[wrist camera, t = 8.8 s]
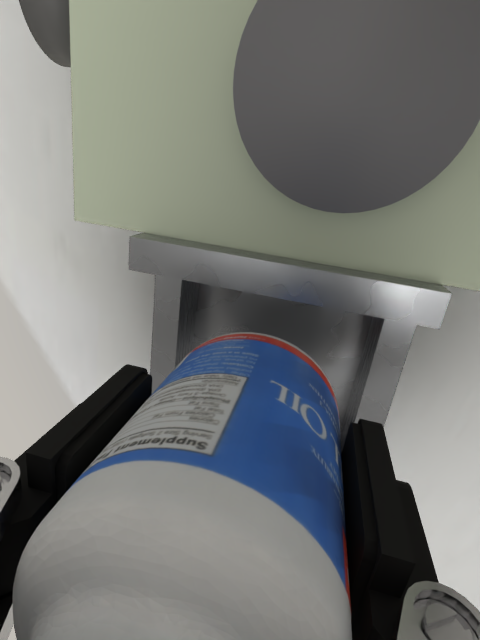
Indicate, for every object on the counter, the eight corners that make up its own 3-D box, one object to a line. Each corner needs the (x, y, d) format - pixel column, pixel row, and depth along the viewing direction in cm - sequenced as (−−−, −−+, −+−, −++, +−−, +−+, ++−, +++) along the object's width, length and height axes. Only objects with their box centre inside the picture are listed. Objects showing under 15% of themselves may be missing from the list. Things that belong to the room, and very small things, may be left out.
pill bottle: (360, 458, 12) (469, 1265, 3) (211, 484, 14) (-10, 1056, 5) (305, 301, 11) (207, 883, 2) (148, 350, 12) (-323, 781, 3)
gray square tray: (415, 261, 14) (451, 293, 10) (355, 456, 17) (364, 543, 13) (183, 222, 15) (129, 236, 11) (169, 409, 18) (123, 474, 14)
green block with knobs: (677, -45, 10) (889, -185, 6) (537, 282, 13) (620, 320, 9) (89, -69, 13) (-12, -177, 9) (91, 207, 16) (18, 213, 12)
